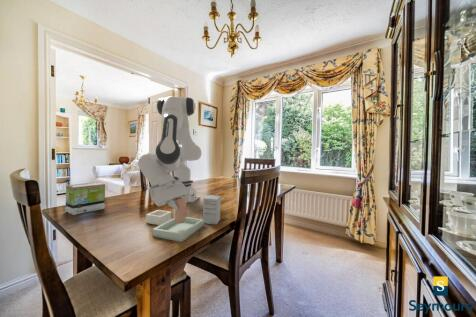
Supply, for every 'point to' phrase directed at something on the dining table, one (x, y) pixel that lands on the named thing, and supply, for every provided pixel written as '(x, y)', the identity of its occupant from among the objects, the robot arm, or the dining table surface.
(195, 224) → the tray
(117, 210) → the dining table surface
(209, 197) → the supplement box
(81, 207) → the tea box
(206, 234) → the dining table surface
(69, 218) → the dining table surface
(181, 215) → the terracotta jar
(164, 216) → the white square dish
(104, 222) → the dining table surface
